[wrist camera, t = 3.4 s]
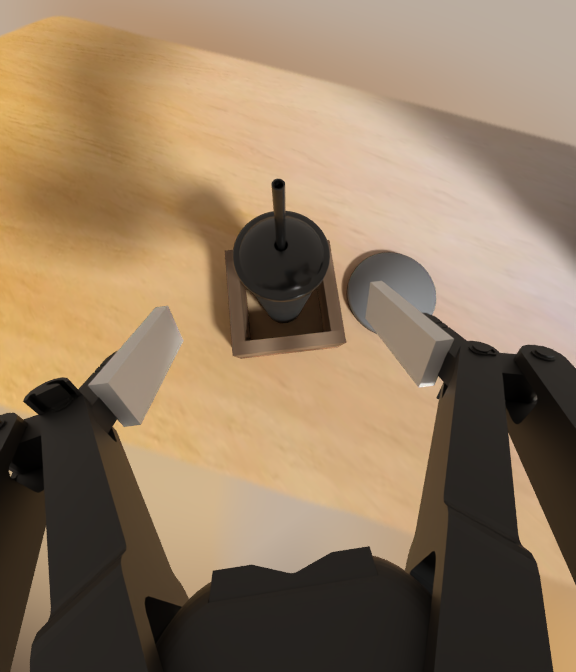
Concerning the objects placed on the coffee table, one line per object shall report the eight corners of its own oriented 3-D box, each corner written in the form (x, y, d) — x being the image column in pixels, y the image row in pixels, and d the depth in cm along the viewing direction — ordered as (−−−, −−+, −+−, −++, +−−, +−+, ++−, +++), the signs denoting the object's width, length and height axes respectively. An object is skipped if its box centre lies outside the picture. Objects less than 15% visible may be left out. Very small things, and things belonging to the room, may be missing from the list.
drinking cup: (270, 343, 30) (239, 281, 10) (247, 294, 31) (177, 154, 11) (320, 318, 30) (384, 215, 11) (295, 272, 31) (311, 101, 12)
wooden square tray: (323, 258, 32) (329, 239, 27) (337, 347, 30) (346, 342, 25) (233, 268, 32) (224, 250, 27) (240, 358, 29) (232, 355, 25)
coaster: (421, 251, 32) (425, 248, 31) (441, 331, 30) (445, 330, 29) (340, 260, 32) (342, 257, 31) (354, 341, 30) (356, 340, 29)
